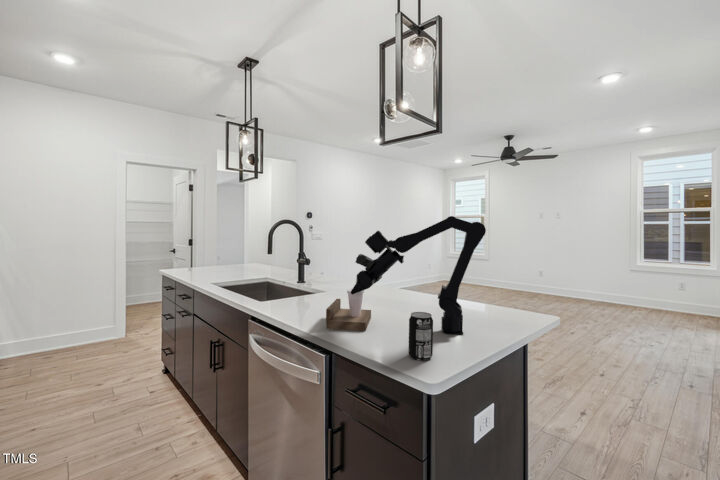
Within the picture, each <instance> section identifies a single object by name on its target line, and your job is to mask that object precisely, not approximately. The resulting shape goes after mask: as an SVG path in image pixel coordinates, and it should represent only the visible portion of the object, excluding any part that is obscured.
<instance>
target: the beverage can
mask: <svg viewBox="0 0 720 480" xmlns="http://www.w3.org/2000/svg"><path fill="white" fill-rule="evenodd" d="M433 337H434V319H433V318H432V314H431V313H429V312H426V311H414V312H413V311H412V312H411V314H410V317H409V318H408V355H409V356H410V358H411V359H413V360H416V361H428V360H430V359H431V358H432V356H433V350H434V349H433V348H434V347H433V345H434V343H433V340H434V339H433Z"/></svg>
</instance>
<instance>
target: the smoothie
mask: <svg viewBox="0 0 720 480" xmlns="http://www.w3.org/2000/svg"><path fill="white" fill-rule="evenodd" d="M356 283H357V277H356V278H355V284H356ZM352 289H353V288H348V289H347V290H346V293H347V298H348V307H349V308H348V309H350V316H351V317H359V316H360V314H361V310H362V306H363V298H364V293H365V290H363V291H360V292H358V293H355V294H353V295H352V294H351V293H350V292H351V291H352Z"/></svg>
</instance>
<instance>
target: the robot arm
mask: <svg viewBox="0 0 720 480" xmlns="http://www.w3.org/2000/svg"><path fill="white" fill-rule="evenodd" d="M450 229H455V230H457V231H460V232H463V233H465V235H464V239H463V241H464V242H463V246H462V249H461V252H460V253H459V256H458V259H457V260H456V263H455V266H454V269H453V271H452V274H451V276H450V278H449V281H448V283H447V284H446V285H443V284H442V285H441V289H440V292H439V293H438V294H437V299H438V306H439V308H440V309H441V310H443V314H442V315H443V316H441V319H440V320H441V322H440V323H441V330H442V333H444V334H447V335H448V334H449V335H450V334H451V335H464V332H463V324H464V323H463V322H464V319H463V317H464V315H463V308H462V305H461V304H460V303H458V301H457V300H458V295H459V290H460V287H461V284H462V281H463V279H464V277H465V274H466V271H467V268H468V266H469V264H470V261H471V259H472V257H473V254H474V251H475V250H476V248H477V247H478V245H479V244H480V243H481V241H482V240H483V239H484V236H485V235H486V231H487V229H486V226H485V225H484V224H483V223H482V222H479V221H473V222H470V221H466V220H464V219H460V218H458V217H455V216H452V215H451V216H448V217H446V218H445V219H443V220H441V221H439V222H437V223H434V224H432V225H430V226H428V227H426V228H424V229H422V230H421V229H420V230H419V231H417V232H414V233H410V234H406V235H403V236H399V237H397V238H396V239H395V240H393V239H390V240H388V239H387V238H386V237H385V236H384V235H383V233H382V232H381V231H380V230H376V232H374V233H373V234H372V235H370V236H368V238H367V239H366V240H365V242H364V244H365V245H367V246H368V248H370V250H371V251H372V252H373V253H374V254H380V255H379V256H378V257H377V258H375V259H372V258H370V257H369V256H367V255H365V254H362V253H358V256H357V257H356V260H355V263H356V264H357V265H360V266H363V267H364V270H363V269H362V270H361V271H359V272H358V273H357V274H356V278H357V283H356V282H355V284H354V286H353V287H352V288H351V289H352V291H351V292H350V293H351V294H352V295H353V294H355V293H358V292H360V291H363V290H364V291H365V290H369V289H370V288H371V287H372V286H374V284H376V283H377V282H379V281H380V280H381V279H382V278H383V275H384V274H385V273H386V272H388V271H389V270H390V269H391V267H393V266H394V265H395V264H396V263H397V262H399V263H400V264H404V262H405V261H404V258H405V255H401V254H403V253H404V254H405V253H407V252H408V251H410V250H411V249H413V248H415V247H416V246H417V245H418V244H420V243H422V242H423V241H425V240H427V239H430V238H432V237H435V236H437V235H439V234H441V233H443V232H445V231H447V230H450ZM392 249H394V250H392ZM383 251H384V252H383Z"/></svg>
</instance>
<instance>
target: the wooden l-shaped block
mask: <svg viewBox="0 0 720 480" xmlns="http://www.w3.org/2000/svg"><path fill="white" fill-rule="evenodd" d="M371 319H372V309H361V314H360V316H359V317H351V316H350V308H341V298H336V299H334V300H333V302H332V303H330V305H329V306H328V307H326V309H325V330H335V331H336V330H338V331H356V332H366V331H367V329H368V326H369V324H370V321H371Z"/></svg>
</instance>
